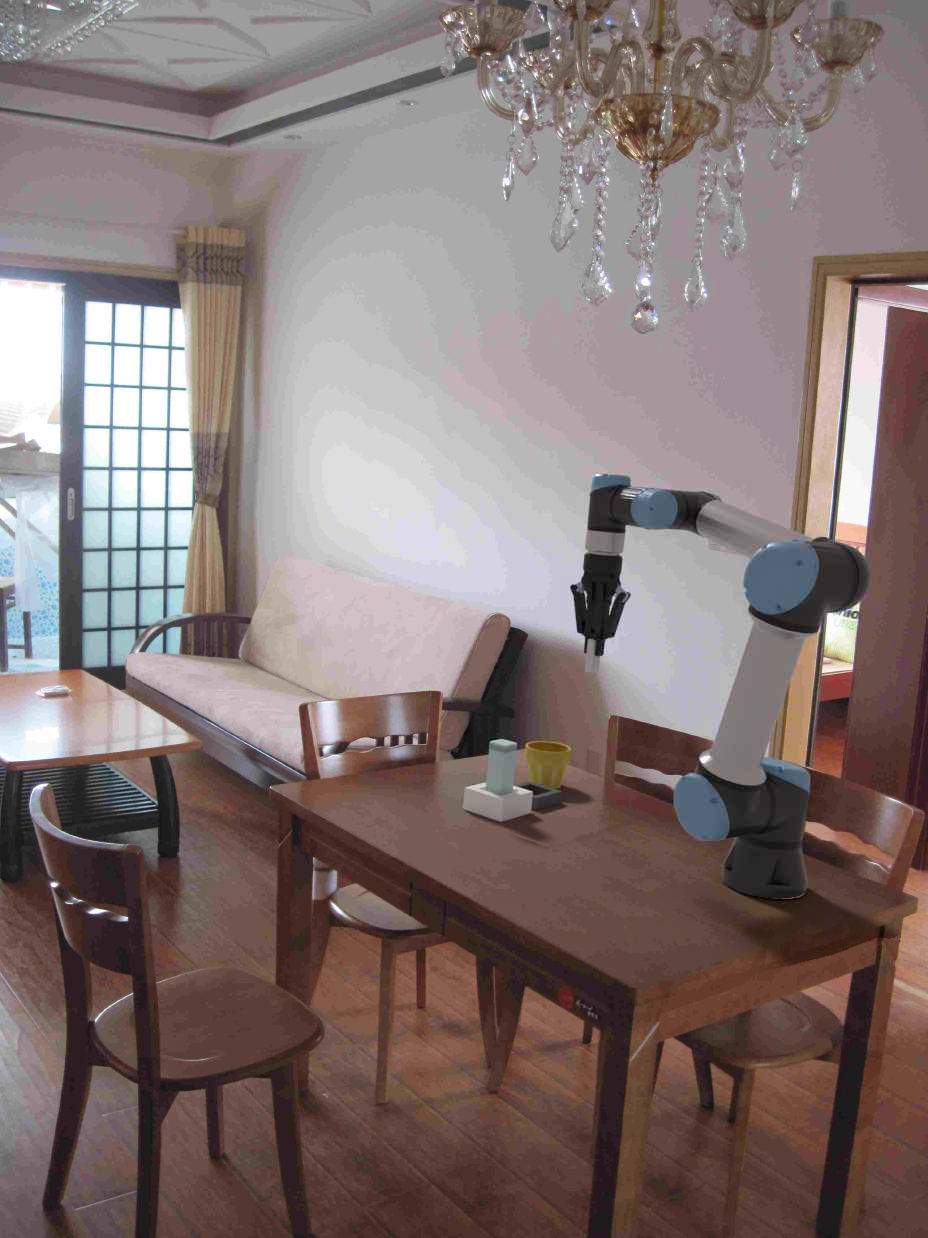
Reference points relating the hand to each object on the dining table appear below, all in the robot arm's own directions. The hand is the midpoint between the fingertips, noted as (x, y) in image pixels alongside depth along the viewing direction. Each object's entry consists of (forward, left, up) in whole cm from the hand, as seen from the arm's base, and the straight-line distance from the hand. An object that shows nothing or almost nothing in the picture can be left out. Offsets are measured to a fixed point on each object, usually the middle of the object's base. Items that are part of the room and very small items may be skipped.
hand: (591, 671), depth 228 cm
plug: (+15, +7, -31) cm, 35 cm away
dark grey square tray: (+15, -5, -32) cm, 36 cm away
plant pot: (+21, -18, -33) cm, 43 cm away
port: (+15, +7, -32) cm, 36 cm away
